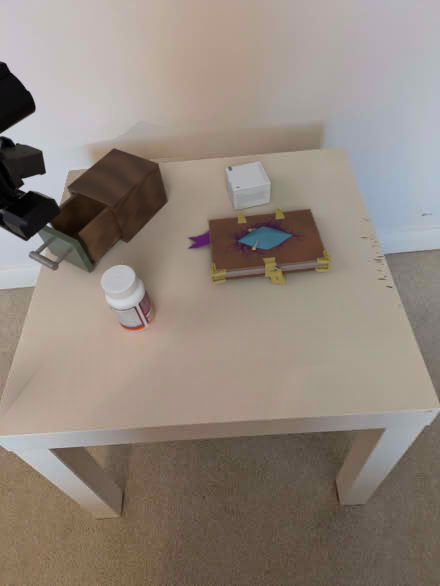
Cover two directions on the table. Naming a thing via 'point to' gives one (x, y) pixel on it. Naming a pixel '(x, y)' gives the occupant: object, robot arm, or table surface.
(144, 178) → the cabinet
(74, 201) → the drawer
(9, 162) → the robot arm
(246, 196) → the small box
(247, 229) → the book
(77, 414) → the table surface
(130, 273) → the pill bottle
